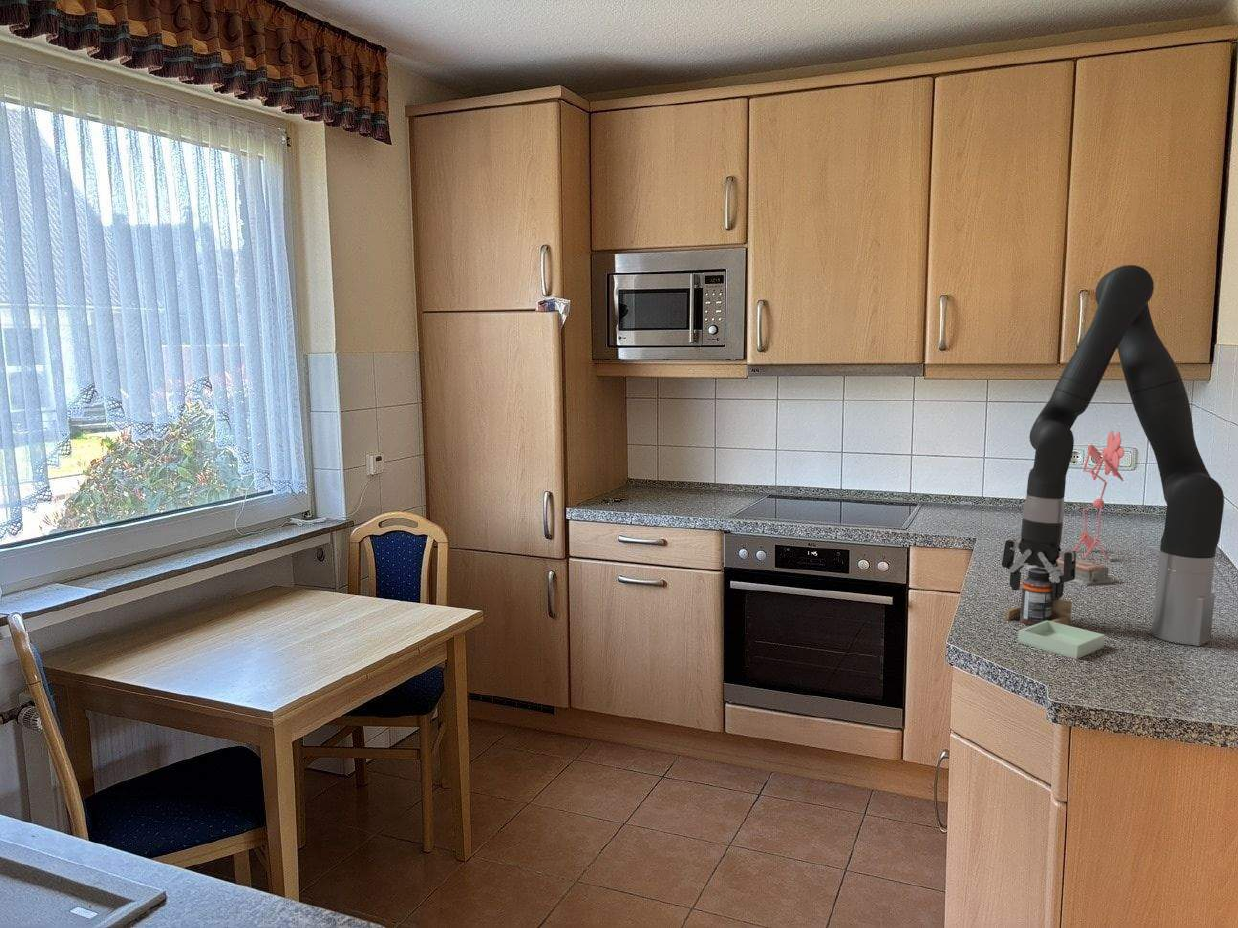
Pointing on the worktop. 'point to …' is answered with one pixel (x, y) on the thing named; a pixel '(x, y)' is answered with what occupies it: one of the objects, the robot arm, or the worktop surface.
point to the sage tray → (1061, 639)
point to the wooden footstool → (1059, 612)
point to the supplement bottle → (1036, 597)
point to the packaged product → (1086, 572)
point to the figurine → (1111, 464)
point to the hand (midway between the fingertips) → (1035, 594)
